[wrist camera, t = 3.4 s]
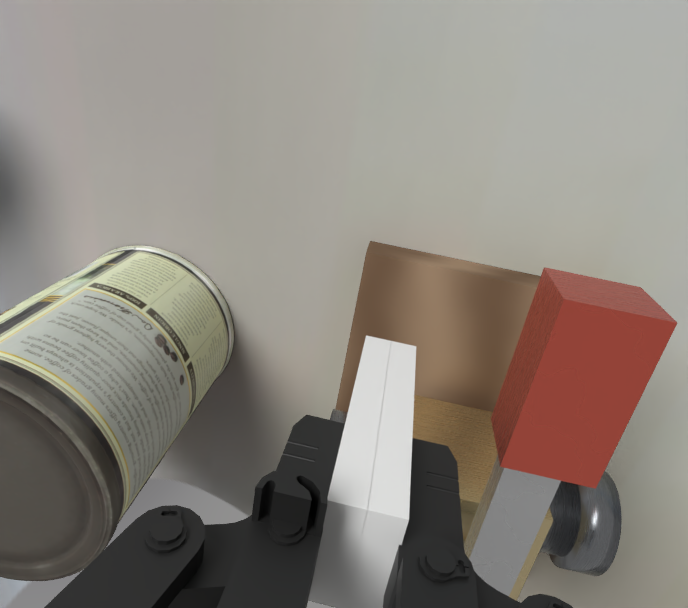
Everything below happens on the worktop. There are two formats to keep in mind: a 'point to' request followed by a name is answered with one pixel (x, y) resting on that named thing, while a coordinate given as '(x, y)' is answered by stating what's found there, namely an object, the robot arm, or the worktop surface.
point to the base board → (441, 322)
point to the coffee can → (98, 399)
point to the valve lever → (562, 408)
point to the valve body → (565, 509)
